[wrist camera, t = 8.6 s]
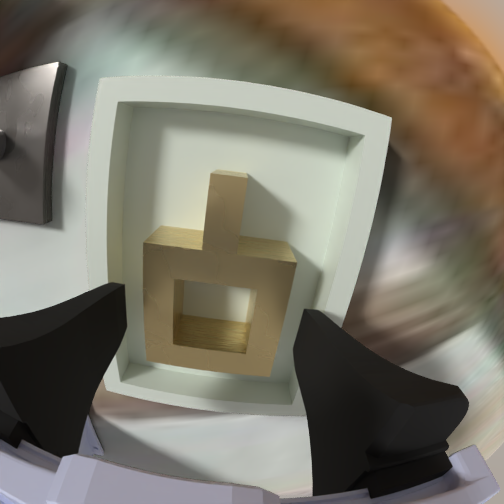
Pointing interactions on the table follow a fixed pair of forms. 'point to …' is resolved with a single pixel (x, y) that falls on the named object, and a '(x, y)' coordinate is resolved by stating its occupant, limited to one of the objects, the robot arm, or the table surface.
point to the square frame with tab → (221, 273)
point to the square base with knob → (28, 141)
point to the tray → (253, 219)
